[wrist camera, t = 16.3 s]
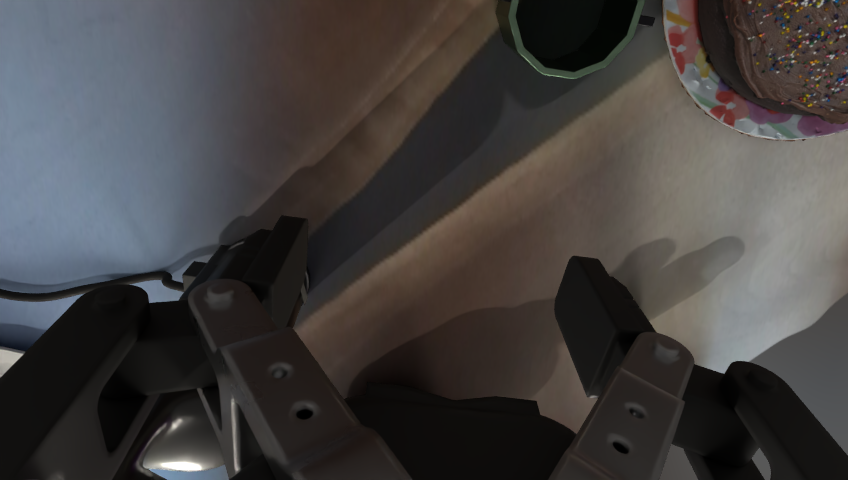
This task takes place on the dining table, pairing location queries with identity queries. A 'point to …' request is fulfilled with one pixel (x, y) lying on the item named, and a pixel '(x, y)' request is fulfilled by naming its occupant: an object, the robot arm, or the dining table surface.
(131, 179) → the dining table surface
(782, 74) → the chocolate cake
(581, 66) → the cooking pot
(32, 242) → the dining table surface
